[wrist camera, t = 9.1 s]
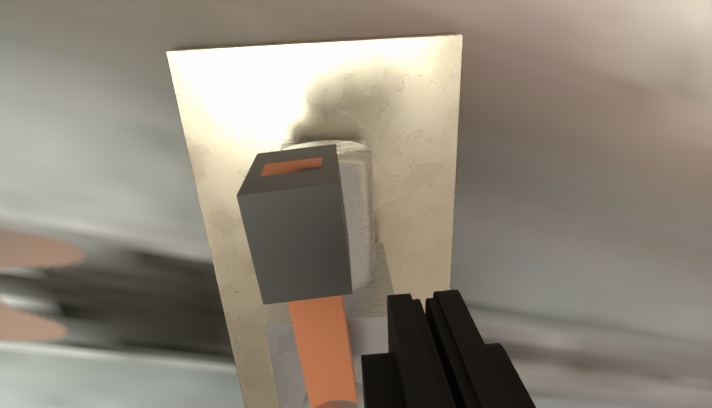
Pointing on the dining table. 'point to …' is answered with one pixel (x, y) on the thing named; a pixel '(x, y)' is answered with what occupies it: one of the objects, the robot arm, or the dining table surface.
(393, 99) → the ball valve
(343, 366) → the valve lever
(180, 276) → the dining table surface
